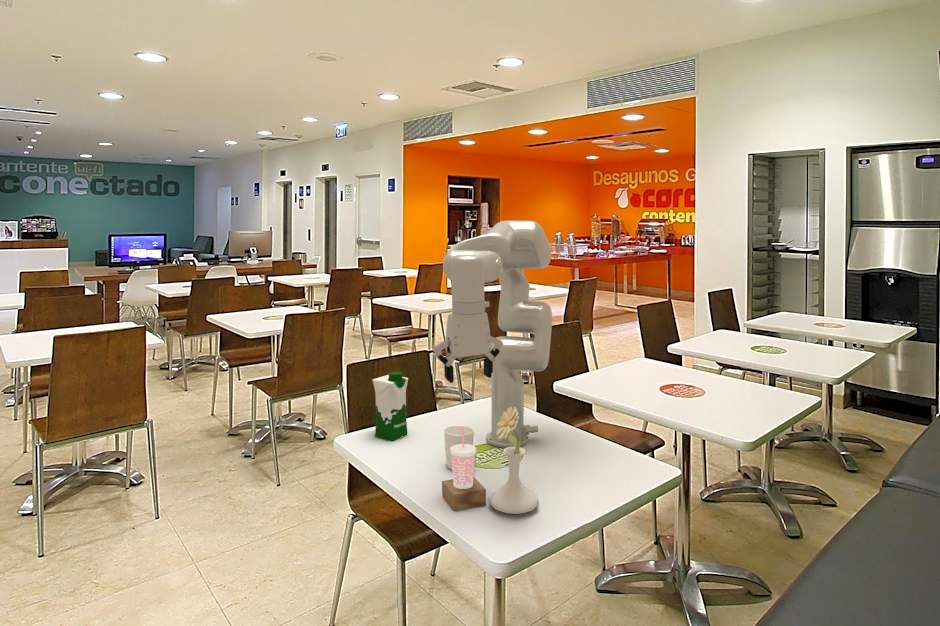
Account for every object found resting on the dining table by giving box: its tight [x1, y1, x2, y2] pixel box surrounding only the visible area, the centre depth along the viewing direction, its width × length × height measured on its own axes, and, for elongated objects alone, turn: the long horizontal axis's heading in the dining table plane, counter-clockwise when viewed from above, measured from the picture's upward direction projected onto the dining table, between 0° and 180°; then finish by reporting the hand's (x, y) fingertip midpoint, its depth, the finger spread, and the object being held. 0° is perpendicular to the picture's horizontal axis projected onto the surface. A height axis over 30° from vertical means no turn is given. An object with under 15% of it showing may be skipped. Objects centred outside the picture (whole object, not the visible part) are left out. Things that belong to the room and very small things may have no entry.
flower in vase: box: [488, 407, 539, 515], centre depth 144 cm, size 13×11×25 cm
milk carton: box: [372, 370, 409, 442], centre depth 192 cm, size 9×9×20 cm
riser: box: [441, 475, 487, 512], centre depth 150 cm, size 8×8×4 cm
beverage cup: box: [450, 428, 477, 489], centre depth 148 cm, size 6×6×14 cm
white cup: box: [443, 424, 475, 470], centre depth 170 cm, size 8×8×10 cm
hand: (468, 378), depth 150 cm, fingers open, 9 cm apart
